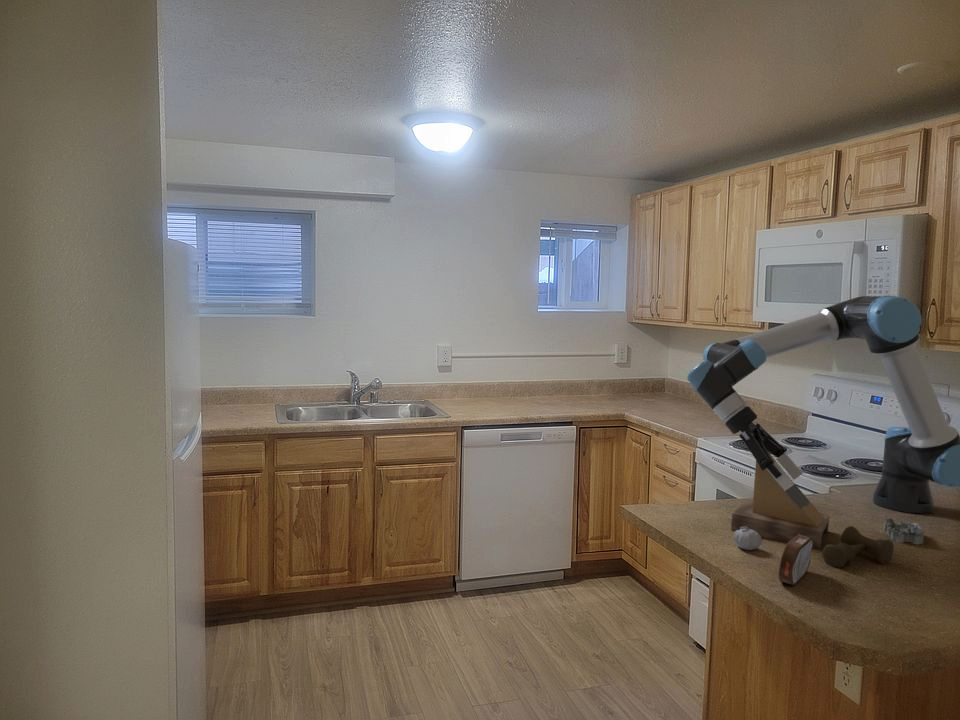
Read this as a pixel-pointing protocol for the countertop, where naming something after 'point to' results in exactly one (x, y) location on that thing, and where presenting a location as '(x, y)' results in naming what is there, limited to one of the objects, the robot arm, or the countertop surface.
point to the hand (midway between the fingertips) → (794, 482)
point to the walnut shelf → (777, 525)
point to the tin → (795, 559)
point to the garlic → (747, 538)
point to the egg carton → (904, 531)
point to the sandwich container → (782, 500)
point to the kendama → (856, 548)
